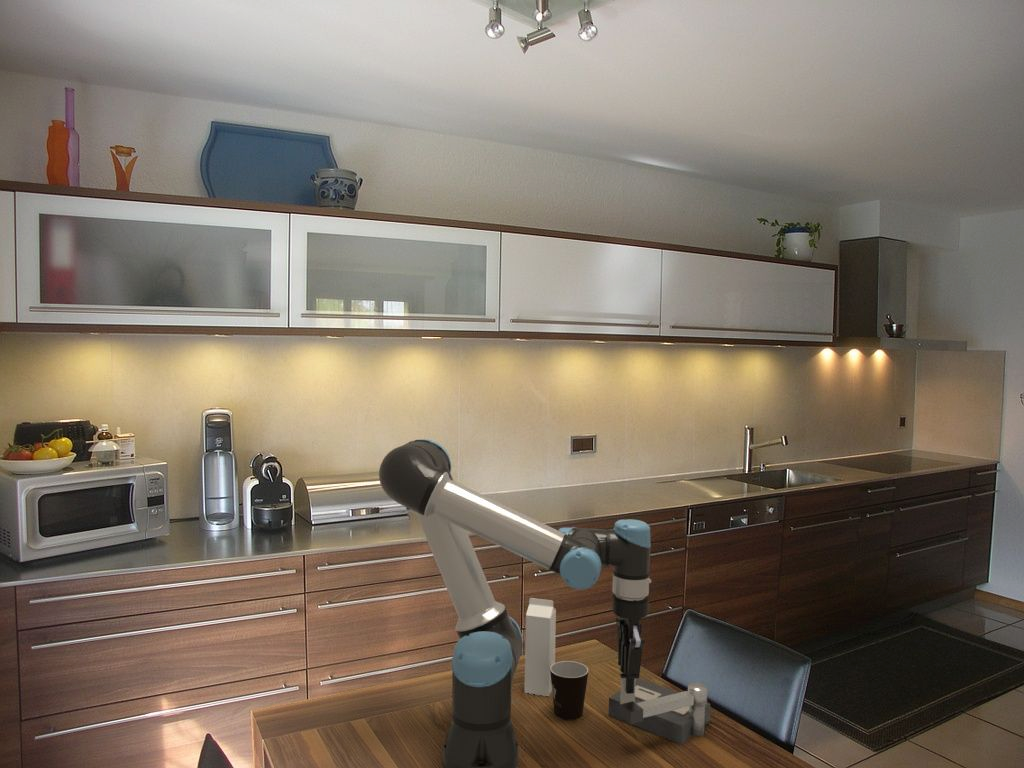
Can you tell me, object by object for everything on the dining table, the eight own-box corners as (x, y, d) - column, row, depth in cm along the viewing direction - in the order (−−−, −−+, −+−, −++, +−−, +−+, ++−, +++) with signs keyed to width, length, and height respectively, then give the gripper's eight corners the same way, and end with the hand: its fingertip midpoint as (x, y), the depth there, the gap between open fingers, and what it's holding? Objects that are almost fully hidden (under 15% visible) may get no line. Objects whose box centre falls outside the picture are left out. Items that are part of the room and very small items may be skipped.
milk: (530, 682, 176) (532, 593, 175) (554, 686, 174) (556, 596, 173) (524, 693, 170) (525, 601, 169) (549, 697, 168) (550, 604, 167)
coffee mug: (585, 724, 156) (586, 679, 156) (546, 720, 158) (547, 675, 157) (590, 699, 167) (591, 657, 167) (553, 695, 169) (554, 654, 169)
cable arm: (698, 695, 156) (698, 681, 156) (710, 703, 152) (711, 689, 152) (619, 715, 147) (620, 699, 147) (631, 724, 143) (631, 708, 143)
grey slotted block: (608, 715, 160) (609, 686, 160) (639, 695, 170) (639, 668, 170) (688, 747, 147) (689, 716, 147) (716, 723, 157) (717, 694, 157)
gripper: (657, 605, 144) (654, 720, 145) (638, 584, 157) (635, 690, 158) (621, 606, 143) (618, 721, 144) (605, 585, 156) (602, 691, 157)
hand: (627, 705), depth 151 cm, fingers closed
